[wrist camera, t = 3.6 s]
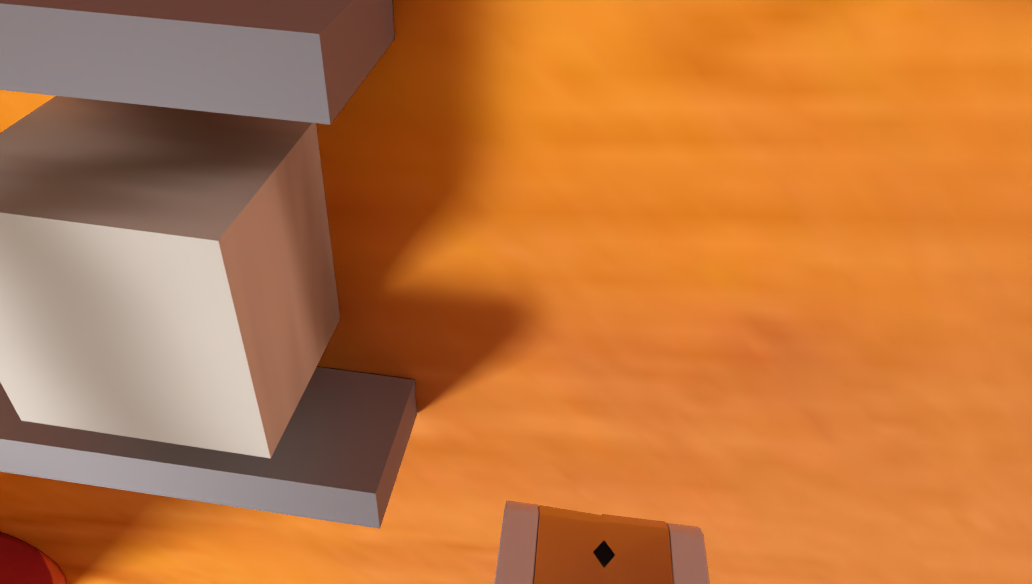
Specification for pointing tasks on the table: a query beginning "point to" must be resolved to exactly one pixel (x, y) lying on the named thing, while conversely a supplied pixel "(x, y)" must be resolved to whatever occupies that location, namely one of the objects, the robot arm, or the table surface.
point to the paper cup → (26, 564)
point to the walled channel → (240, 91)
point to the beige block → (163, 272)
